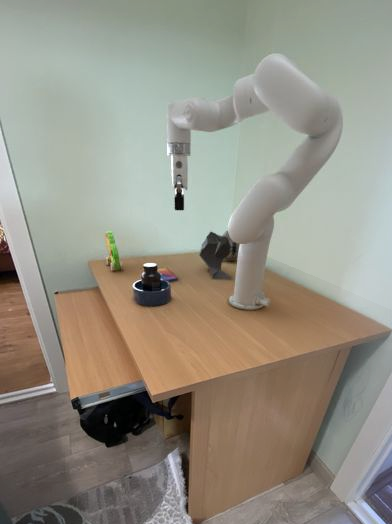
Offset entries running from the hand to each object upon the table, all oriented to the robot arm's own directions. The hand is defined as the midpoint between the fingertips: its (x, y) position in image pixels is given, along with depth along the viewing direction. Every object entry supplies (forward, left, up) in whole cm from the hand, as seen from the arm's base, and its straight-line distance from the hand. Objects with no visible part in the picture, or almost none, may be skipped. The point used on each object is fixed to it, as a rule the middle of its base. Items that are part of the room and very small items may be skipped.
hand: (179, 208), depth 105 cm
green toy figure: (+37, +6, -28) cm, 47 cm away
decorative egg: (+6, -41, -28) cm, 50 cm away
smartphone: (+12, -2, -28) cm, 31 cm away
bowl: (-4, +18, -28) cm, 34 cm away
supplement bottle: (-4, +18, -28) cm, 33 cm away
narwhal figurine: (-1, -21, -28) cm, 35 cm away
